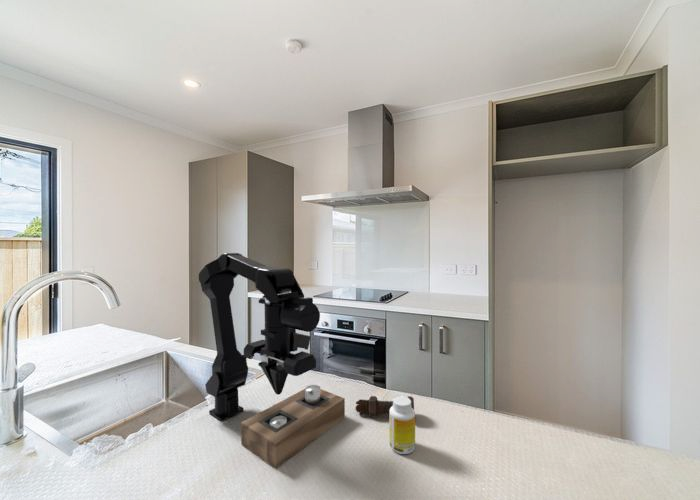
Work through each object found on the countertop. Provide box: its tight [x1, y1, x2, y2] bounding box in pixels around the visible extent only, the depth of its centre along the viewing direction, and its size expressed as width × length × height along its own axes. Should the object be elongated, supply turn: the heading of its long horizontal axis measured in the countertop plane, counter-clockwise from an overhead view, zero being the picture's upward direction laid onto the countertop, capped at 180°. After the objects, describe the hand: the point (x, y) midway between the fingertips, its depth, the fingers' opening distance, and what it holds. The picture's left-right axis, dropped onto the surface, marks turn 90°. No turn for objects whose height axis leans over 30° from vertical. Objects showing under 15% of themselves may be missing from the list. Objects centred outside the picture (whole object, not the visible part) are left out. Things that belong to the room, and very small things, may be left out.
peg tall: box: [270, 416, 287, 429], centre depth 66 cm, size 4×4×5 cm
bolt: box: [355, 395, 415, 418], centre depth 77 cm, size 6×5×15 cm
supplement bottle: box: [388, 395, 416, 455], centre depth 64 cm, size 6×6×10 cm
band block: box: [240, 388, 346, 470], centre depth 71 cm, size 12×22×5 cm, turn 142°
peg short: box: [304, 384, 321, 406], centre depth 75 cm, size 4×4×5 cm
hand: (278, 393), depth 66 cm, fingers closed
